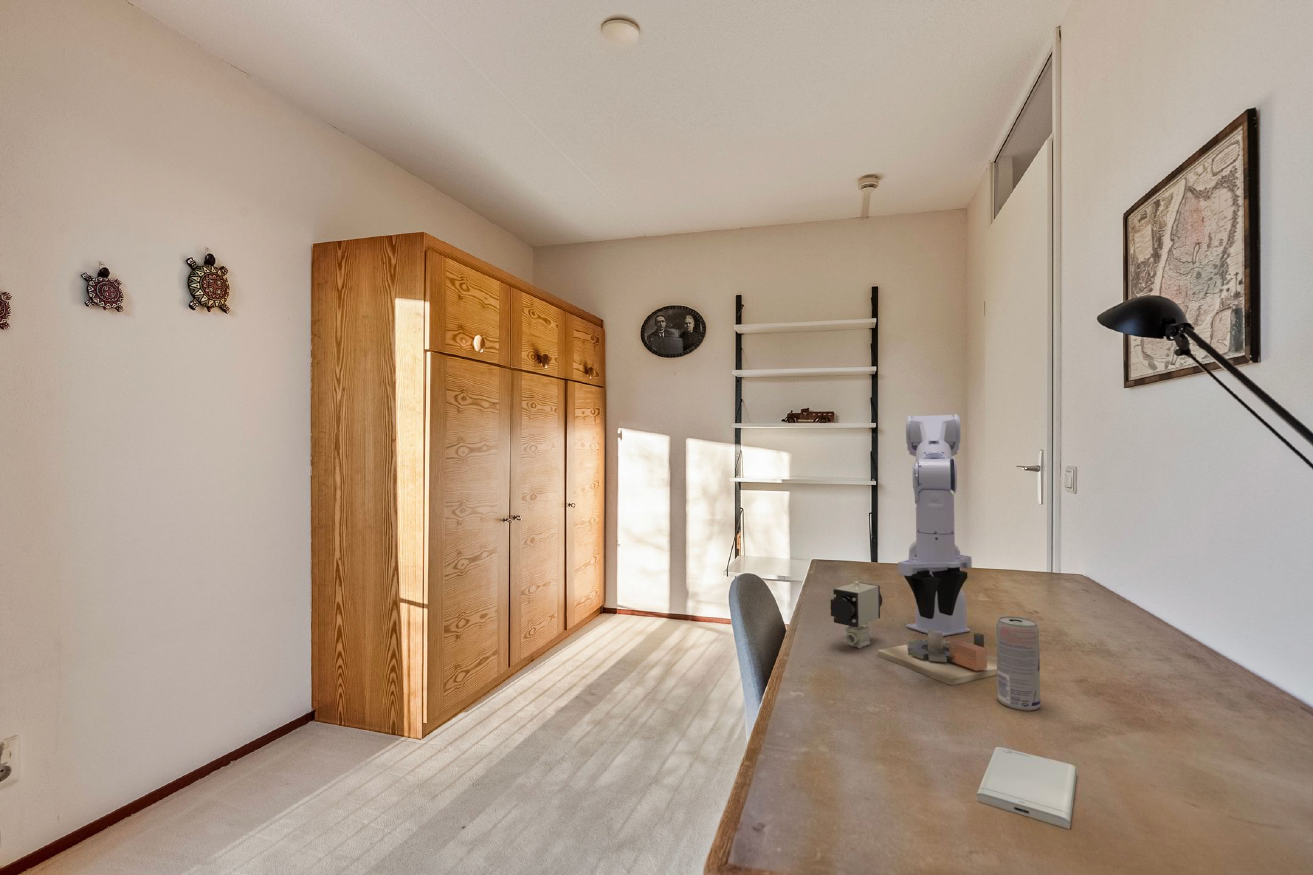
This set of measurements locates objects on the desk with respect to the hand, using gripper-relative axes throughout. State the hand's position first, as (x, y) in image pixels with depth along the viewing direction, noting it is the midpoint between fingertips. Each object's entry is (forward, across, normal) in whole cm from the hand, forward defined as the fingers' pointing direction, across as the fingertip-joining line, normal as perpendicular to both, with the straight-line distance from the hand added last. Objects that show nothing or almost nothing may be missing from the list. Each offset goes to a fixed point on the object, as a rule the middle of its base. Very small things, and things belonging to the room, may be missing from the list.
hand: (936, 615), depth 100 cm
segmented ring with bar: (+9, +6, +3) cm, 11 cm away
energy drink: (+10, +2, -12) cm, 16 cm away
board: (+10, +6, +4) cm, 13 cm away
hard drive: (+11, -18, -28) cm, 35 cm away
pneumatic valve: (+10, 0, +18) cm, 21 cm away
